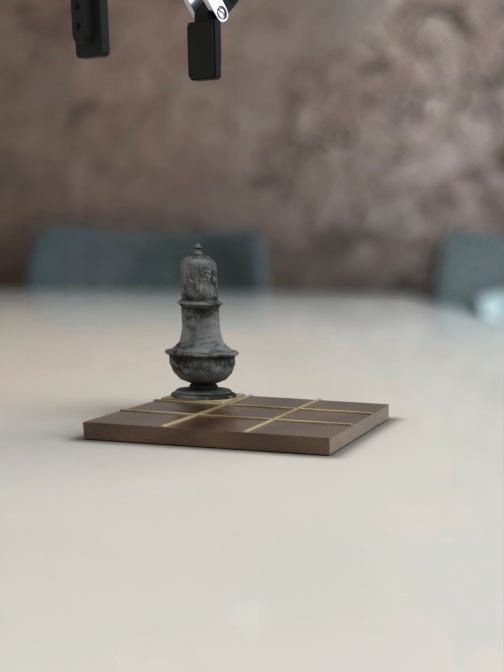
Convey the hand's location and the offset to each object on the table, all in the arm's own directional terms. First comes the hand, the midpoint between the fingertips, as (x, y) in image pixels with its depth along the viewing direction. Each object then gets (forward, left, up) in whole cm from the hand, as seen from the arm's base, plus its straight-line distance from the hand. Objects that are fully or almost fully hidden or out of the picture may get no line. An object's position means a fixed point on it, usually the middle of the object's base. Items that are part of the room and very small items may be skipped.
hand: (151, 69), depth 81 cm
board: (+8, -3, -25) cm, 27 cm away
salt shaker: (+2, +3, -24) cm, 24 cm away
